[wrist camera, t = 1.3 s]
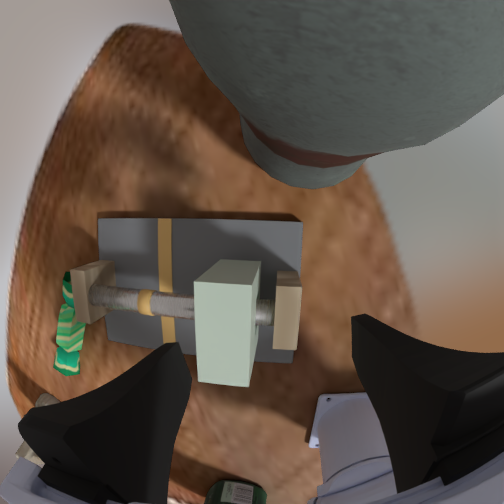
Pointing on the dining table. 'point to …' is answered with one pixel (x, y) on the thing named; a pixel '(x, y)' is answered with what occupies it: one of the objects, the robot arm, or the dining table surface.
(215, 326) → the grey square nut
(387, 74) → the bottle
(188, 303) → the pipe rig
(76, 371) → the candy
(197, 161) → the dining table surface
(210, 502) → the coffee jar
